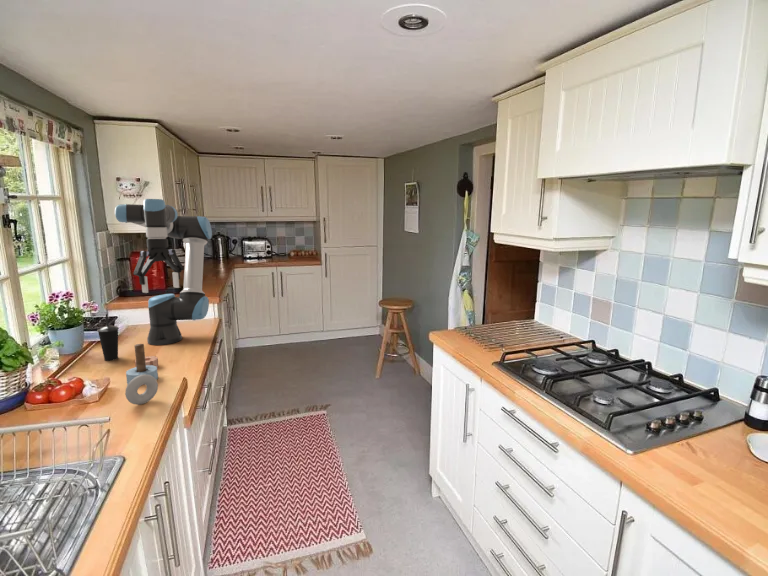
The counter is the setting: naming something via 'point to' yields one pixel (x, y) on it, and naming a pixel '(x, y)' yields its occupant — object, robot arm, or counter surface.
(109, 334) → the drinking cup
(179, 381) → the counter surface
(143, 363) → the dowel
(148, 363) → the bead
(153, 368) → the blue thick ring
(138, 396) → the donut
